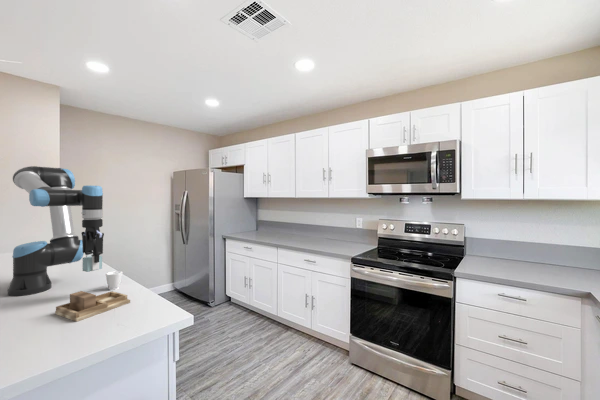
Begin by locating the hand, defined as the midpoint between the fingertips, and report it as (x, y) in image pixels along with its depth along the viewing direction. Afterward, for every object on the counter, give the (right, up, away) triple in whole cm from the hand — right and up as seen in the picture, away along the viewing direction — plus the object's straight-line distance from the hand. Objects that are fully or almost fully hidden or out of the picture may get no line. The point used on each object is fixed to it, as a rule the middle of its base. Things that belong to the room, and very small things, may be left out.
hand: (92, 268), depth 124 cm
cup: (+2, -13, +11) cm, 17 cm away
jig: (+11, -13, -13) cm, 21 cm away
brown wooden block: (+10, -12, -17) cm, 23 cm away
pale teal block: (0, 0, 0) cm, 0 cm away
